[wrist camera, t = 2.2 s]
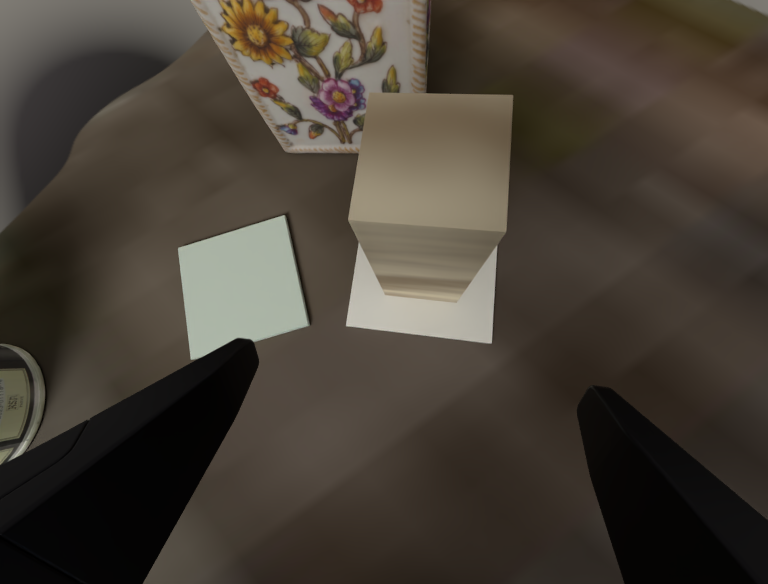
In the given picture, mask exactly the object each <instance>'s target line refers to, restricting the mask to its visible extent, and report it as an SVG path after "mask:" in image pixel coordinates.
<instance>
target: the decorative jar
mask: <svg viewBox="0 0 768 584" xmlns="http://www.w3.org/2000/svg"><path fill="white" fill-rule="evenodd" d="M190 1H191V2H192V4H193V5H194V7H195V9H196V11H197V12H198V14H199V16H200V17H201V19H202V21H203V22H204V24H205V26H206V27H207V29H208V30H209V32H210V34H211V35H212V37H213V39H214V41H215V43H216V44H217V45H218V47H219V48H220V50H221V51H222V53H223V55H224V56H225V58H226V60H227V62H228V64H229V65H230V67H231V68H232V70H233V72H234V73H235V75H236V77H237V78H238V79H239V82H240V83H241V85H242V86H243V88H244V89H245V91H246V92H247V94H248V95H249V97H250V99H251V100H252V102H253V103H254V105H255V106H256V108H257V109H258V111H259V113H260V114H261V116H262V117H263V119H264V120H265V122H266V123H267V125H268V126H269V128H270V129H271V131H272V132H273V134H274V135H275V137H276V138H277V140H278V141H279V143H280V144H281V146H282V147H283V149H284V150H285V151H286V152H288V153H354V154H355V153H359V151H360V145H361V139H362V132H363V126H364V120H365V114H366V108H367V102H368V96H369V92H373V93H426V90H427V68H428V55H429V37H430V21H431V0H190Z"/></svg>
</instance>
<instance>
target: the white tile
mask: <svg viewBox="0 0 768 584" xmlns="http://www.w3.org/2000/svg"><path fill="white" fill-rule="evenodd" d="M496 259H497V246H496V247H495V249H494V250H493V252H492V253H491V255H490V256H489V257H488V259H487V260H486V262H485V263H484V264H483V266H482V267H481V269H480V270H479V272H478V273H477V274H476V276H475V277H474V279H473V280H472V282H471V283H470V284H469V286H468V287H467V289H466V290H465V291H464V293H463V294H462V296H461V297H460V299H459V300H458V301H457V303H454V302H445V301H435V300H426V299H417V298H407V297H398V296H388V295H385V294H384V292H383V290H382V288H381V286H380V284H379V282H378V280H377V278H376V276H375V273H374V271H373V269H372V267H371V265H370V263H369V261H368V259H367V257H366V255H365V253H364V251H363V249H362V247H361V245H360V243H359V245H358V252H357V258H356V265H355V271H354V277H353V284H352V290H351V297H350V303H349V310H348V316H347V323H346V326H349V327H357V328H365V329H373V330H381V331H390V332H398V333H406V334H414V335H422V336H430V337H439V338H447V339H455V340H463V341H471V342H480V343H488V344H492V330H493V312H494V295H495V277H496Z"/></svg>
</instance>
